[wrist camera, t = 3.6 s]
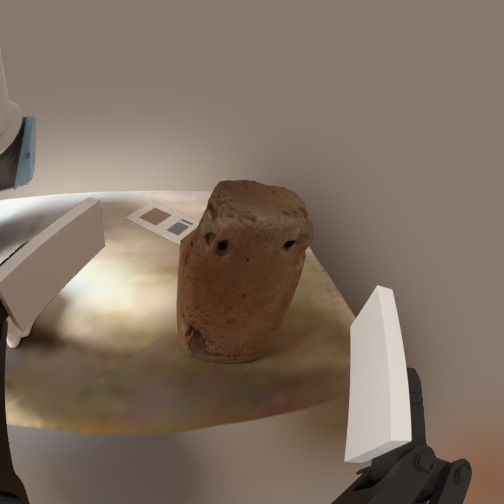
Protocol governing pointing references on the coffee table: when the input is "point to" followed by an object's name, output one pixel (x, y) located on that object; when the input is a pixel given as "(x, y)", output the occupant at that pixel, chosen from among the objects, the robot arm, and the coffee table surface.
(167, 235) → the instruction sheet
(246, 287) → the block
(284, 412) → the coffee table surface
